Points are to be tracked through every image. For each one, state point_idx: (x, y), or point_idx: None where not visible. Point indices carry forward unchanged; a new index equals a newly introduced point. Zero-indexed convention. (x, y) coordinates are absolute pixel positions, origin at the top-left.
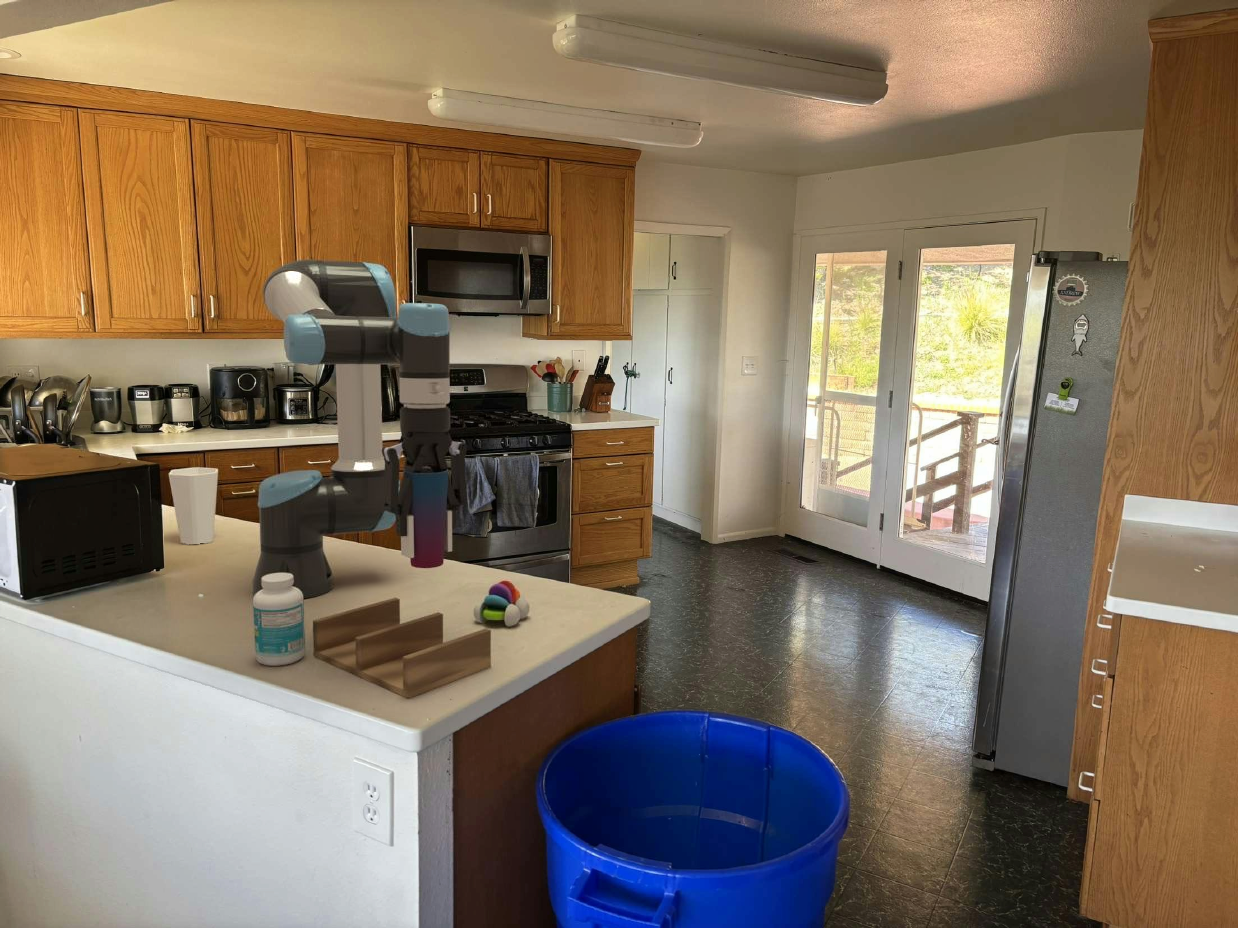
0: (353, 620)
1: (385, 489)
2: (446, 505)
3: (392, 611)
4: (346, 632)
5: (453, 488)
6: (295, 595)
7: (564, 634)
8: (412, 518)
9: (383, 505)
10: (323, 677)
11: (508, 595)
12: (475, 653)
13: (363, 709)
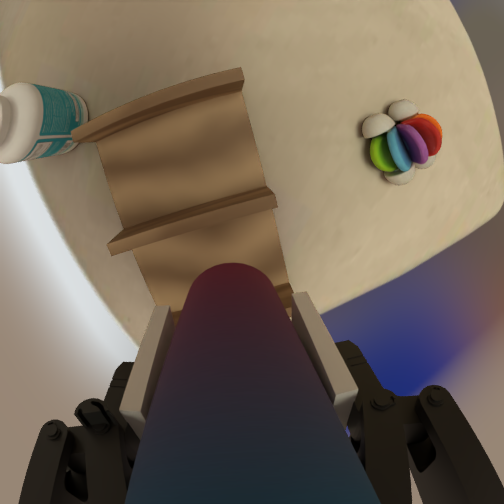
0: (141, 114)
1: (31, 500)
2: (357, 423)
3: (226, 88)
4: (133, 121)
5: (438, 452)
6: (18, 148)
7: (415, 239)
8: None
9: (39, 436)
10: (92, 212)
11: (418, 163)
12: None
13: (119, 315)
